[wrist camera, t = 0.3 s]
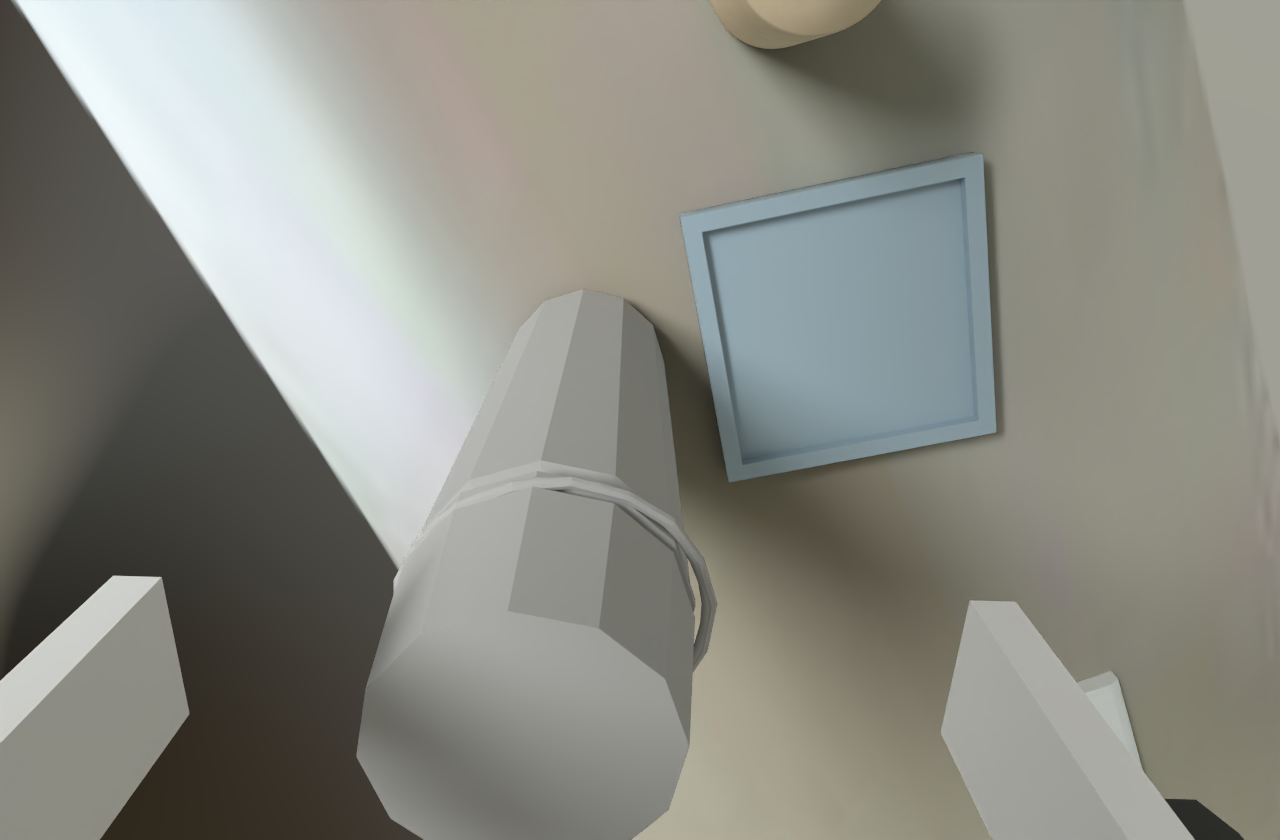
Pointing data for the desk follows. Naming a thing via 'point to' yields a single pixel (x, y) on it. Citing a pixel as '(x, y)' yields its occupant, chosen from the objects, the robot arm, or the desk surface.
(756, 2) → the candle
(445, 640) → the water bottle
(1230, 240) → the desk surface
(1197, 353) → the desk surface
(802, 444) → the tray
